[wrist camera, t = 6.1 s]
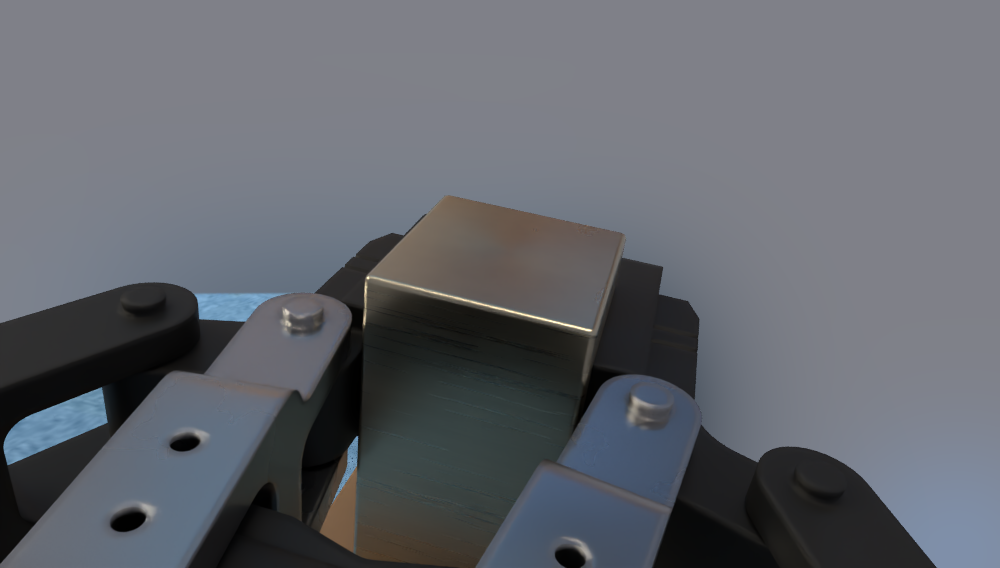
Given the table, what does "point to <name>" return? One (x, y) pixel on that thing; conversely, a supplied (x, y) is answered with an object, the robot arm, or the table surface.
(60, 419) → the table surface
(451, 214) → the knife
